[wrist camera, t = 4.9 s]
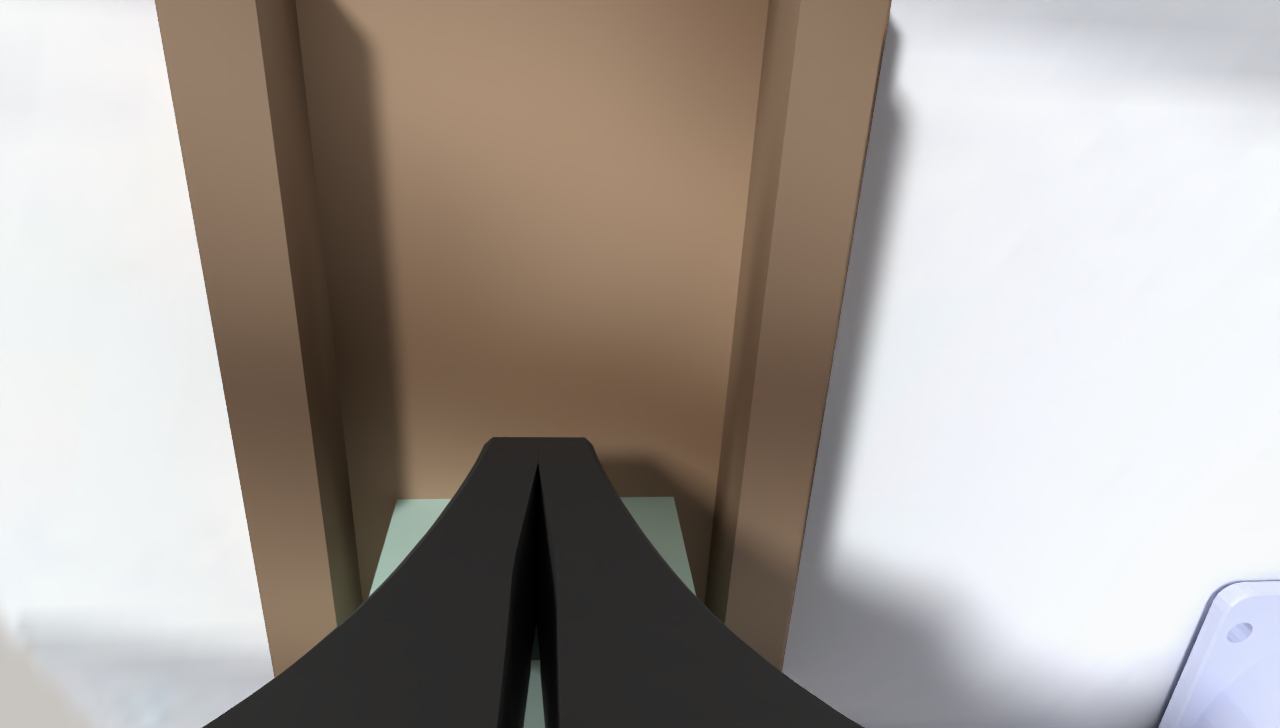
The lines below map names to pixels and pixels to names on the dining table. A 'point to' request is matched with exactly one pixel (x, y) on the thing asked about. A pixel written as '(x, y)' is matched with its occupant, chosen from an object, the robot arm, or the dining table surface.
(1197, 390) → the dining table surface
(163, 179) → the dining table surface
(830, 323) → the chute
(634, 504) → the block
